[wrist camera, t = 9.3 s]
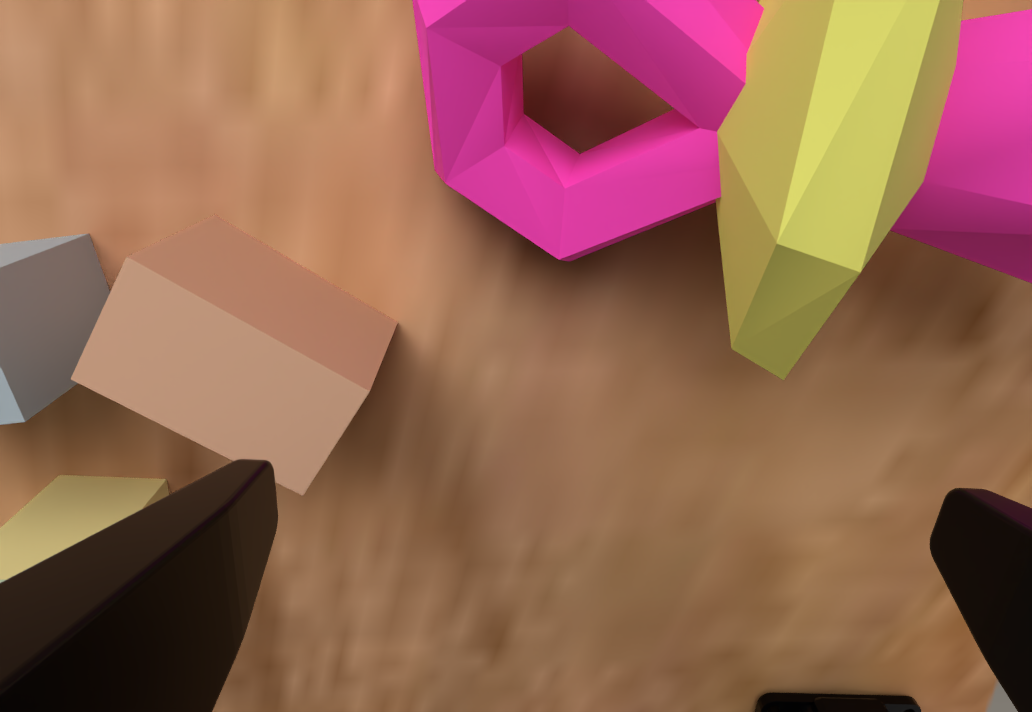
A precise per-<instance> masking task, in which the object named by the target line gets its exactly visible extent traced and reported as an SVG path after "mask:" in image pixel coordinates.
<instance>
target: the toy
mask: <svg viewBox="0 0 1032 712" xmlns="http://www.w3.org/2000/svg"><path fill="white" fill-rule="evenodd" d="M413 8H414V16H415V23H416V31H417V38H418V46H419V54H420V61H421V69H422V76H423V84H424V92H425V99H426V107H427V114H428V122H429V130H430V137H431V145H432V152H433V160H434V167H435V171H436V172H437V174H438V175H439V176H440V177H441V179H442V180H443V181H444V182H445V184H447V185H448V186H450V187H451V188H453V189H454V190H456V191H457V192H459V193H460V194H462V195H463V196H465V197H466V198H468V199H469V200H471V201H472V202H474V203H475V204H477V205H478V206H480V207H481V208H483V209H484V210H486V211H487V212H488V213H490V214H491V215H493V216H494V217H496V218H497V219H499V220H500V221H502V222H503V223H505V224H506V225H508V226H509V227H511V228H512V229H514V230H515V231H517V232H518V233H520V234H521V235H523V236H524V237H526V238H527V239H529V240H530V241H532V242H533V243H534V244H536V245H537V246H539V247H540V248H542V249H543V250H545V251H546V252H548V253H549V254H551V255H552V256H554V257H555V258H557V259H558V260H563V261H572V260H575V259H577V258H580V257H582V256H584V255H587V254H589V253H592V252H594V251H597V250H599V249H602V248H604V247H607V246H609V245H612V244H614V243H617V242H619V241H621V240H624V239H626V238H629V237H631V236H634V235H636V234H639V233H641V232H644V231H646V230H649V229H651V228H654V227H656V226H658V225H661V224H663V223H666V222H668V221H671V220H673V219H676V218H678V217H681V216H683V215H686V214H688V213H691V212H693V211H695V210H698V209H700V208H703V207H705V206H708V205H710V204H713V203H715V202H716V209H717V218H718V228H719V237H720V247H721V256H722V265H723V275H724V284H725V293H726V303H727V312H728V322H729V331H730V340H731V349H733V350H734V351H736V352H738V353H739V354H741V355H743V356H744V357H746V358H748V359H749V360H751V361H753V362H754V363H756V364H757V365H759V366H761V367H762V368H764V369H766V370H767V371H769V372H771V373H772V374H774V375H776V376H777V377H779V378H781V379H782V380H784V379H785V377H786V376H787V375H788V373H789V372H790V370H791V369H792V368H793V366H794V365H795V363H796V362H797V361H798V359H799V358H800V356H801V355H802V354H803V352H804V351H805V349H806V348H807V347H808V345H809V344H810V342H811V341H812V340H813V338H814V337H815V335H816V334H817V333H818V331H819V330H820V329H821V327H822V326H823V324H824V323H825V322H826V320H827V319H828V317H829V316H830V315H831V313H832V312H833V310H834V309H835V308H836V306H837V305H838V303H839V302H840V301H841V299H842V298H843V296H844V295H845V294H846V292H847V291H848V289H849V288H850V287H851V285H852V284H853V282H854V281H855V280H856V278H857V277H858V275H859V274H860V273H861V271H862V270H863V268H864V267H865V265H866V264H867V263H868V261H869V260H870V258H871V257H872V255H873V254H874V252H875V251H876V250H877V248H878V247H879V245H880V244H881V242H882V241H883V239H884V238H885V236H886V235H887V234H888V232H889V231H893V232H896V233H899V234H901V235H904V236H907V237H909V238H912V239H915V240H917V241H920V242H923V243H925V244H928V245H931V246H933V247H936V248H939V249H941V250H944V251H947V252H949V253H952V254H955V255H958V256H960V257H963V258H966V259H968V260H971V261H974V262H976V263H979V264H982V265H984V266H987V267H990V268H992V269H995V270H998V271H1000V272H1003V273H1006V274H1009V275H1011V276H1014V277H1017V278H1019V279H1022V280H1025V281H1027V282H1030V283H1032V9H1031V10H1025V11H1019V12H1012V13H1006V14H1000V15H994V16H988V17H982V18H976V19H970V20H964V21H961V17H962V8H963V0H760V2H759V3H758V2H757V1H756V0H413ZM568 26H570V27H571V28H572V29H573V30H575V31H576V32H577V33H579V34H580V35H581V36H582V37H584V38H585V39H586V40H588V41H589V42H590V43H591V44H593V45H594V46H595V47H597V48H598V49H599V50H600V51H602V52H603V53H604V54H605V55H607V56H608V57H609V58H611V59H612V60H613V61H614V62H616V63H617V64H618V65H620V66H621V67H622V68H623V69H625V70H626V71H627V72H629V73H630V74H631V75H632V76H634V77H635V78H636V79H638V80H639V81H640V82H641V83H643V84H644V85H645V86H646V87H648V88H649V89H650V90H652V91H653V92H654V93H655V94H657V95H658V96H659V97H661V98H662V99H663V100H664V101H666V102H667V103H668V104H670V105H671V106H672V107H673V108H675V109H673V110H671V111H669V112H667V113H665V114H663V115H661V116H659V117H657V118H655V119H652V120H650V121H648V122H646V123H644V124H642V125H640V126H638V127H636V128H633V129H631V130H629V131H627V132H625V133H623V134H621V135H619V136H617V137H614V138H612V139H610V140H608V141H606V142H604V143H602V144H600V145H598V146H596V147H593V148H591V149H589V150H587V151H585V152H583V153H581V154H579V153H578V152H576V151H575V150H574V149H572V148H571V147H569V146H568V145H567V144H565V143H564V142H563V141H561V140H560V139H558V138H557V137H556V136H554V135H553V134H551V133H550V132H549V131H547V130H546V129H544V128H543V127H542V126H540V125H539V124H537V123H536V122H535V121H533V120H532V119H531V118H529V117H528V116H526V115H525V114H524V109H523V68H522V53H524V52H525V51H527V50H529V49H531V48H532V47H534V46H536V45H537V44H539V43H541V42H542V41H544V40H546V39H547V38H549V37H551V36H552V35H554V34H556V33H557V32H559V31H561V30H562V29H564V28H566V27H568Z"/></svg>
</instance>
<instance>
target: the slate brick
mask: <svg viewBox="0 0 1032 712" xmlns="http://www.w3.org/2000/svg"><path fill="white" fill-rule="evenodd" d="M109 294H110V290H109V287H108V285H107V282H106V279H105V276H104V274H103V271H102V268H101V265H100V262H99V260H98V257H97V254H96V251H95V249H94V246H93V243H92V240H91V237H90V235H89V234H81V235H73V236H65V237H56V238H48V239H39V240H31V241H22V242H14V243H6V244H0V425H2V424H11V423H20V422H26V421H27V420H29V419H30V418H31V417H33V416H34V415H35V414H37V413H38V412H40V411H41V410H42V409H44V408H45V407H46V406H48V405H49V404H50V403H52V402H53V401H55V400H56V399H57V398H59V397H60V396H61V395H63V394H64V393H66V392H67V391H68V390H70V389H71V388H72V387H74V386H75V385H77V384H78V383H77V382H75V381H73V380H71V377H72V375H73V372H74V370H75V368H76V366H77V364H78V362H79V359H80V357H81V355H82V353H83V351H84V348H85V346H86V344H87V342H88V340H89V338H90V335H91V333H92V331H93V329H94V327H95V324H96V322H97V320H98V318H99V316H100V313H101V311H102V309H103V307H104V305H105V303H106V300H107V298H108V296H109Z"/></svg>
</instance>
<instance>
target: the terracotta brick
mask: <svg viewBox="0 0 1032 712" xmlns="http://www.w3.org/2000/svg"><path fill="white" fill-rule="evenodd" d="M397 323H398V322H397V321H395V320H393V319H392V318H390V317H388V316H386V315H385V314H383V313H381V312H380V311H378V310H376V309H375V308H373V307H371V306H369V305H368V304H366V303H364V302H363V301H361V300H359V299H358V298H356V297H354V296H352V295H351V294H349V293H347V292H346V291H344V290H342V289H341V288H339V287H337V286H336V285H334V284H332V283H330V282H329V281H327V280H325V279H324V278H322V277H320V276H319V275H317V274H315V273H313V272H312V271H310V270H308V269H307V268H305V267H303V266H302V265H300V264H298V263H296V262H295V261H293V260H291V259H290V258H288V257H286V256H285V255H283V254H281V253H279V252H278V251H276V250H274V249H273V248H271V247H269V246H268V245H266V244H264V243H263V242H261V241H259V240H257V239H256V238H254V237H252V236H251V235H249V234H247V233H246V232H244V231H242V230H240V229H239V228H237V227H235V226H234V225H232V224H230V223H229V222H227V221H225V220H223V219H222V218H220V217H218V216H217V215H215V214H214V215H212V216H210V217H208V218H206V219H204V220H202V221H200V222H197V223H195V224H193V225H191V226H189V227H187V228H185V229H183V230H181V231H179V232H177V233H175V234H172V235H170V236H168V237H166V238H164V239H162V240H160V241H158V242H156V243H154V244H152V245H150V246H147V247H145V248H143V249H141V250H139V251H137V252H135V253H133V254H131V255H129V256H127V257H126V259H125V261H124V263H123V265H122V268H121V270H120V272H119V274H118V276H117V279H116V281H115V283H114V285H113V287H112V289H111V292H110V294H109V296H108V298H107V300H106V303H105V305H104V307H103V309H102V311H101V313H100V316H99V318H98V320H97V322H96V324H95V327H94V329H93V331H92V333H91V335H90V338H89V340H88V342H87V344H86V346H85V348H84V351H83V353H82V355H81V357H80V359H79V362H78V364H77V366H76V368H75V370H74V372H73V375H72V377H71V380H73V381H75V382H77V383H79V384H81V385H83V386H85V387H87V388H89V389H91V390H93V391H95V392H97V393H99V394H101V395H103V396H105V397H107V398H109V399H111V400H113V401H115V402H117V403H119V404H121V405H123V406H125V407H127V408H129V409H131V410H133V411H135V412H137V413H139V414H141V415H143V416H145V417H147V418H149V419H151V420H153V421H155V422H157V423H159V424H161V425H163V426H165V427H167V428H169V429H171V430H173V431H175V432H177V433H179V434H181V435H183V436H185V437H187V438H189V439H190V440H192V441H194V442H196V443H198V444H200V445H202V446H204V447H206V448H208V449H210V450H212V451H214V452H216V453H218V454H220V455H222V456H224V457H226V458H228V459H230V460H232V461H235V460H238V459H257V460H268V461H269V462H270V463H271V464H272V466H273V469H274V475H275V482H276V483H278V484H280V485H282V486H284V487H286V488H288V489H290V490H292V491H294V492H296V493H298V494H300V495H302V496H303V495H304V493H305V492H306V490H307V489H308V487H309V485H310V484H311V482H312V481H313V479H314V478H315V476H316V475H317V473H318V471H319V470H320V468H321V467H322V465H323V464H324V462H325V460H326V459H327V457H328V456H329V454H330V453H331V451H332V450H333V448H334V446H335V445H336V443H337V442H338V440H339V439H340V437H341V436H342V434H343V432H344V431H345V429H346V428H347V426H348V425H349V423H350V421H351V420H352V418H353V417H354V415H355V414H356V412H357V411H358V409H359V407H360V406H361V404H362V403H363V401H364V400H365V398H366V396H367V395H368V393H369V392H370V390H371V387H372V385H373V382H374V380H375V377H376V375H377V372H378V370H379V367H380V365H381V363H382V360H383V358H384V355H385V353H386V350H387V348H388V345H389V343H390V340H391V338H392V336H393V333H394V331H395V328H396V326H397Z"/></svg>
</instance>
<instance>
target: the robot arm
mask: <svg viewBox="0 0 1032 712" xmlns="http://www.w3.org/2000/svg"><path fill="white" fill-rule="evenodd" d="M277 523H278V509H277V498H276V486H275V475H274V469H273V466H272V464H271V463H270V462H269V461H268V460H257V459H238V460H235V461H233V462H231V463H229V464H228V465H226V466H224V467H222V468H220V469H218V470H216V471H214V472H212V473H210V474H208V475H206V476H205V477H203V478H201V479H199V480H197V481H195V482H193V483H191V484H189V485H187V486H185V487H183V488H181V489H180V490H178V491H176V492H174V493H172V494H170V495H168V496H166V497H164V498H162V499H160V500H158V501H157V502H155V503H153V504H151V505H149V506H147V507H145V508H143V509H141V510H139V511H137V512H135V513H133V514H132V515H130V516H128V517H126V518H124V519H122V520H120V521H118V522H116V523H114V524H112V525H110V526H109V527H107V528H105V529H103V530H101V531H99V532H97V533H95V534H93V535H91V536H89V537H87V538H85V539H84V540H82V541H80V542H78V543H76V544H74V545H72V546H70V547H68V548H66V549H64V550H62V551H61V552H59V553H57V554H55V555H53V556H51V557H49V558H47V559H45V560H43V561H41V562H39V563H37V564H36V565H34V566H32V567H30V568H28V569H26V570H24V571H22V572H20V573H18V574H16V575H14V576H12V577H11V578H9V579H7V580H5V581H3V582H1V583H0V712H212V711H213V708H214V706H215V704H216V701H217V699H218V697H219V694H220V692H221V690H222V688H223V685H224V683H225V681H226V678H227V676H228V674H229V672H230V669H231V667H232V665H233V662H234V660H235V658H236V655H237V653H238V650H239V648H240V645H241V643H242V640H243V638H244V635H245V632H246V629H247V626H248V623H249V620H250V616H251V613H252V610H253V606H254V603H255V600H256V597H257V593H258V590H259V587H260V583H261V580H262V577H263V573H264V570H265V567H266V564H267V560H268V557H269V554H270V550H271V547H272V544H273V540H274V537H275V534H276V529H277ZM930 551H931V555H932V557H933V559H934V561H935V563H936V565H937V567H938V569H939V571H940V573H941V575H942V577H943V579H944V581H945V583H946V585H947V587H948V589H949V591H950V593H951V594H952V596H953V598H954V600H955V602H956V604H957V606H958V608H959V610H960V612H961V614H962V616H963V618H964V620H965V622H966V624H967V626H968V627H969V629H970V631H971V633H972V635H973V637H974V639H975V641H976V643H977V645H978V647H979V648H980V650H981V652H982V654H983V656H984V658H985V660H986V661H987V663H988V664H989V666H990V668H991V669H992V671H993V673H994V674H995V676H996V678H997V679H998V681H999V682H1000V684H1001V686H1002V687H1003V689H1004V690H1005V692H1006V693H1007V695H1008V697H1009V698H1010V700H1011V701H1012V703H1013V704H1014V706H1015V708H1016V709H1017V711H1018V712H1032V508H1030V507H1027V506H1025V505H1022V504H1020V503H1017V502H1015V501H1013V500H1010V499H1008V498H1005V497H1003V496H1001V495H998V494H996V493H993V492H991V491H988V490H985V489H972V488H955V489H953V490H951V491H950V492H949V493H948V494H947V495H946V496H945V498H944V501H943V504H942V507H941V509H940V512H939V515H938V518H937V520H936V523H935V526H934V528H933V531H932V534H931V537H930ZM755 712H921V709H920V707H919V705H918V704H917V702H916V701H915V700H914V698H912V697H909V696H886V695H845V694H805V693H767V694H765V695H763V696H761V697H760V698H759V700H758V702H757V705H756V709H755Z"/></svg>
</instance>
